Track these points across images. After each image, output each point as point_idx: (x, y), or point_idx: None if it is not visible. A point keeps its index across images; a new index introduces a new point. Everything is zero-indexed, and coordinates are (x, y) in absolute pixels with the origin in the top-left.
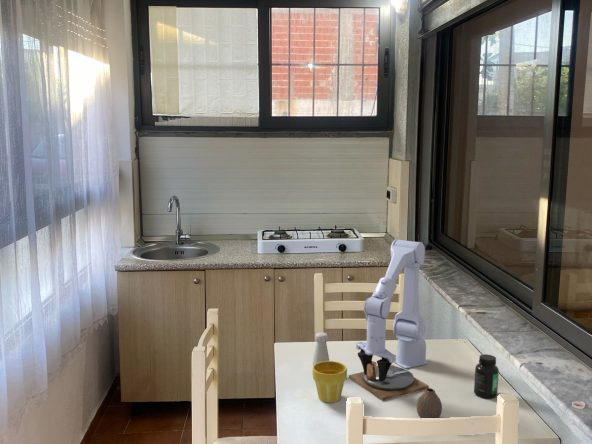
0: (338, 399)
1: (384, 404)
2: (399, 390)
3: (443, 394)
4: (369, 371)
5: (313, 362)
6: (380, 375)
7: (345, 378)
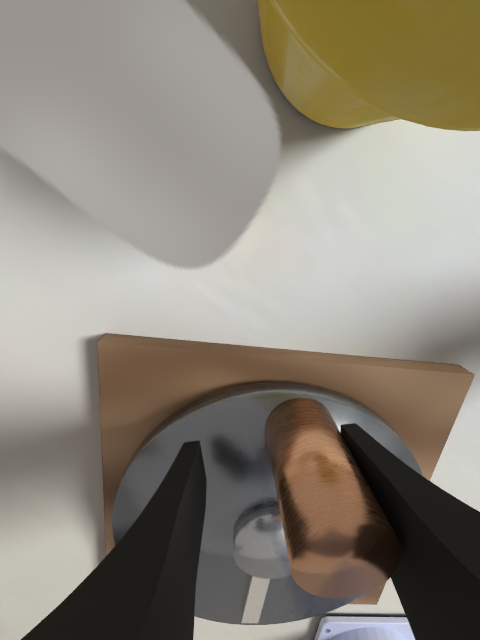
0: (261, 35)
1: (58, 314)
2: None
3: (35, 592)
4: (305, 457)
5: None
6: (170, 479)
7: None
